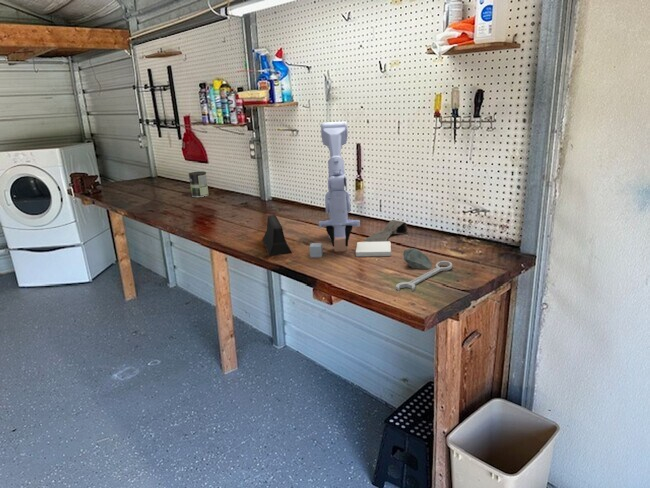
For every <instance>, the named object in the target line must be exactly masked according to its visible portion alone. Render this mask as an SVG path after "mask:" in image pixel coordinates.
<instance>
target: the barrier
mask: <svg viewBox="0 0 650 488" xmlns="http://www.w3.org/2000/svg"><path fill="white" fill-rule="evenodd" d="M266 221H267V224H266V231H265V233H264V236H263V237H262V241H263V244H264V246H265V250H266V252H267V254H268V257H273V256H274V257H275V256H281V255H289V254H290V255H291V254H293V252H292V250H291V247H290V246H289V244H288V243H287V240H286V237H285V234H284V229H283V226H282V224H281V223H280V221H279V219H278V217H277V215H276V214H272V215H270V214H269V215H267V218H266Z"/></svg>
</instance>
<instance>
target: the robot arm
mask: <svg viewBox="0 0 650 488" xmlns="http://www.w3.org/2000/svg"><path fill="white" fill-rule="evenodd" d="M320 134H321V135H320V136H321V140H322V142H321V143H322V144H323V146H325V147H327V148H328V150H329V159H328V160H327V166H328V167H327V168H328V178H327V192H326V193H325V195H324V196H325V198H324V201H325V207H324V208H325V213H326V214H328V216H329V219H327V220H319V221H318V228H325V231H326V233H327V234H328V239H330V241H331V243H332V244H331V245H332V248H334V239H335V238H339V237H346V242H345V244H346V248H347V247H349V238H350V235H351V232H352V230H353V227H357V228H358V227H360V226H361V222H360V219H348V218H349V217H348V215H349V213H351V210H352V209H351V208H352V206H351V196H350V195H351V194H350V193H349V191H347V190H348V180H347V175H346V171H345V159H344V158H342V157H341V156H342V153H341V151H342V148H343V146H344V145H347V142H348V122H347V121H345V120H343V121H329V122H324V121H323V122H321V124H320Z"/></svg>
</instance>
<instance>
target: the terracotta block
mask: <svg viewBox="0 0 650 488" xmlns="http://www.w3.org/2000/svg"><path fill="white" fill-rule="evenodd" d="M345 242H346V237H339V238H335V239H334V247H333V248H334V252H347V247H346V244H345Z"/></svg>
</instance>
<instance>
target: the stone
mask: <svg viewBox="0 0 650 488" xmlns="http://www.w3.org/2000/svg"><path fill="white" fill-rule="evenodd" d="M402 255H403V260H404V261H405V262H406V263H407V265H409V266H410V267H411V268H412V269H419V270H420V269H421V270H432V267H433V265H432V261H431V259H430V258H429V257H428V256H427V255H426V254H424V253H423V252H422V251H421V250H419V249H417V248H413V247H412V248H411V247H409V248H407V249H404V250H403V254H402Z"/></svg>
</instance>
